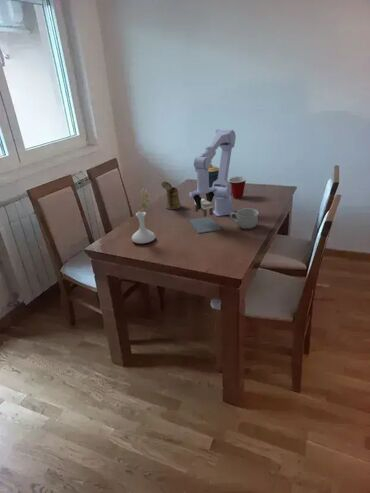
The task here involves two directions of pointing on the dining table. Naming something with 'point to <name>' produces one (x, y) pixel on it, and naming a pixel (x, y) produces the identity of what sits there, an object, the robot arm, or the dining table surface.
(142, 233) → the flower in vase
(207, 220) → the mat
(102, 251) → the dining table surface
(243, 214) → the teacup
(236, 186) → the plastic cup
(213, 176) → the canister
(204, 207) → the cream block with tabs
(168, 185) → the wooden mug
